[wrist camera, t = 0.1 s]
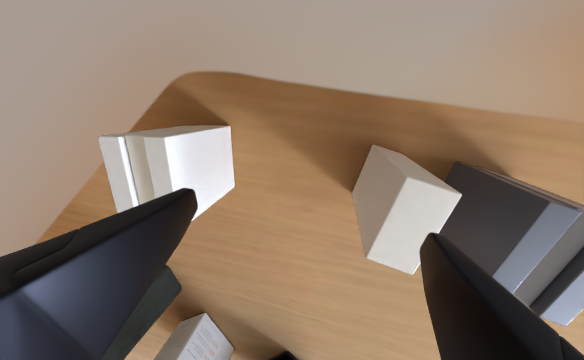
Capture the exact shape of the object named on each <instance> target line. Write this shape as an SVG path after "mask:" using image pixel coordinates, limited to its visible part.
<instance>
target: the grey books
mask: <svg viewBox="0 0 584 360" xmlns="http://www.w3.org/2000/svg"><path fill="white" fill-rule="evenodd" d="M445 183H446V184H448V185H449V186H451V187H452V188H454V189H455V190H457V191H458V192H460V193H461V194H462V196H461V198H460V199H459V201H458V203H457V204H456V206H455V207H454V209H453V211H452V212H451V214H450V215H449V217H448V219H447V220H446V222H445V224H444V225H443V227H442V228H441V230H440V232H439V234H443V235H444V236H446V237H447V238H448V239H449V240H450V241H451V242H453V243H454V244H455V245H456V246H457V247H458V248H459V249H461V250H462V251H463V252H464V253H465V254H466V255H468V256H469V257H470V258H471V259H472V260H473V261H475V262H476V263H477V264H478V265H479V266H480V267H482V268H483V269H484V270H485V271H486V272H487V273H489V274H490V275H491V276H492V277H493V278H494V279H495V280H497V281H498V282H499V283H500V284H501V285H502V286H504V287H505V288H506V289H507V290H508V291H509V292H511V293H512V294H513V295H514V296H515V297H516V298H518V299H519V300H520V301H521V302H522V303H523V304H525V305H526V306H527V307H529V308H530V309H531V310H532V311H533V312H534V313H535V314H536V315H537V316H538V317H540V318H543V319H546V320H549V321H552V322H554V323H557V324H560V325H563V326H566V325H567V324H568V323H570V322H571V321H572V320H573V319H574V318H575V317H576V316H577V315H578V314H579V313H580V312H581V311H582V310H583V309H584V205H582V204H580V203H577V202H574V201H572V200H569V199H567V198H564V197H561V196H559V195H556V194H554V193H551V192H549V191H546V190H543V189H541V188H538V187H536V186H533V185H530V184H528V183H525V182H523V181H520V180H518V179H515V178H512V177H509V176H506V175H503V174H500V173H496V172H493V171H490V170H487V169H484V168H481V167H474V166H471V165H468V164H464V163H461V162H458V161H457V162H456V163H455V165H454V167H453V168H452V170H451V172H450V174H449V175H448V177H447V179H446V181H445Z"/></svg>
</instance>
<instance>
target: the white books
mask: <svg viewBox="0 0 584 360" xmlns="http://www.w3.org/2000/svg"><path fill="white" fill-rule="evenodd" d="M98 139H99V143H100V146H101V151H102V155H103V159H104V163H105V167H106V171H107V174H108V178H109V182H110V186H111V190H112V194H113V198H114V202H115V206H116V210H117V213H120V212H122V211H125V210H127V209H130V208H133V207H135V206H138V205H140V204H143V203H145V202H148V201H150V200H153V199H156V198H158V197H161V196H163V195H166V194H168V193H171V192H174V191H176V190H179V189H181V188H190V189H193V190H194V191H195V193H196V198H197V203H198V209H197V211H196V213H195V215H194V217H193V219H192V220H194V219H195V218H196V217H197V216H199V215H200V214H201V213H202V212H204V211H205V210H206V209H207V208H209V207H210V206H211V205H212V204H214V203H215V202H216V201H217V200H219V199H220V198H221V197H222V196H224V195H225V194H226V193H227V192H229V191H230V190H231V189H233V188H234V187H235V184H234V170H233V157H232V143H231V130H230V126H218V125H216V126H215V125H197V126H179V127H170V128H162V129H153V130H145V131H136V132H128V133H120V134H111V135H103V136H98Z"/></svg>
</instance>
